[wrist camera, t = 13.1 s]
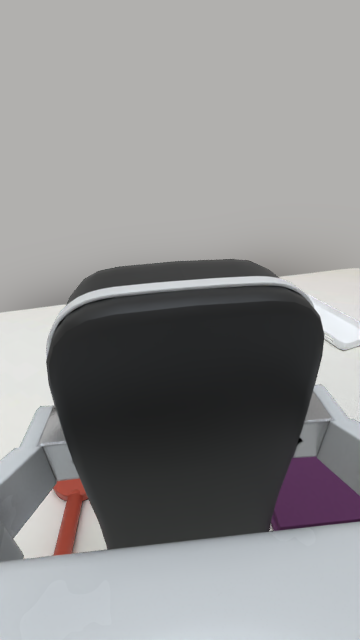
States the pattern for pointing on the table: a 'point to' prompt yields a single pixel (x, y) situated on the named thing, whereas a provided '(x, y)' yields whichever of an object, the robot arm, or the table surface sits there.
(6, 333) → the table surface
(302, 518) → the cloth
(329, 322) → the phone case
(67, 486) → the spoon
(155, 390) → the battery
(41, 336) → the table surface
